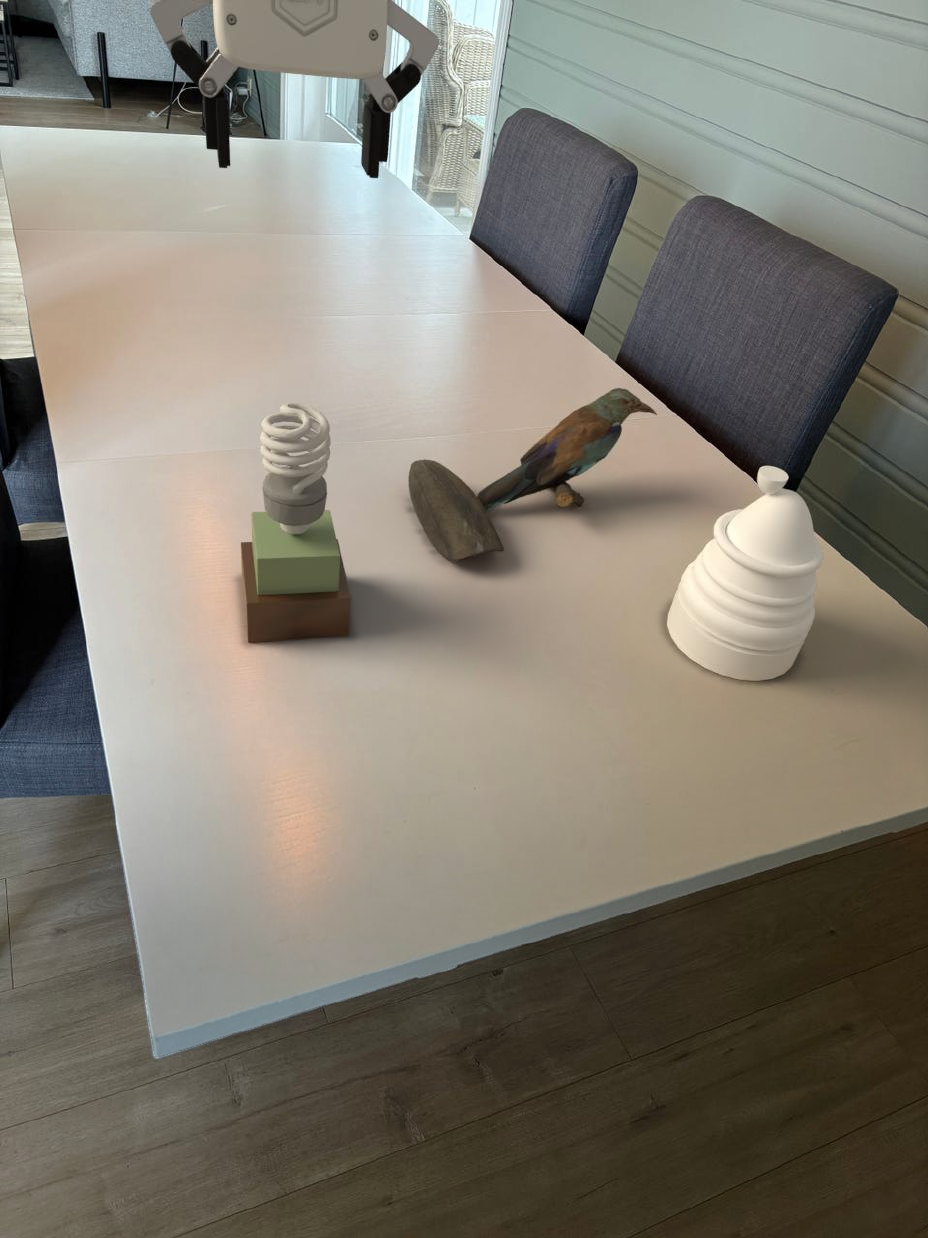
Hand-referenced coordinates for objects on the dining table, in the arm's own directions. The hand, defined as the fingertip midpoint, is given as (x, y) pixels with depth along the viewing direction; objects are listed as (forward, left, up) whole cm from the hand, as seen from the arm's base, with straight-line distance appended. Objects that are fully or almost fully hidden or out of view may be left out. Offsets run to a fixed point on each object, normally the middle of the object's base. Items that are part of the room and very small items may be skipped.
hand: (298, 167), depth 61 cm
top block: (0, 0, -34) cm, 34 cm away
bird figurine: (+31, +16, -38) cm, 52 cm away
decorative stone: (+17, +12, -38) cm, 44 cm away
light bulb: (0, 0, -30) cm, 30 cm away
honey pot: (+42, -8, -38) cm, 58 cm away
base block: (0, 0, -38) cm, 38 cm away
